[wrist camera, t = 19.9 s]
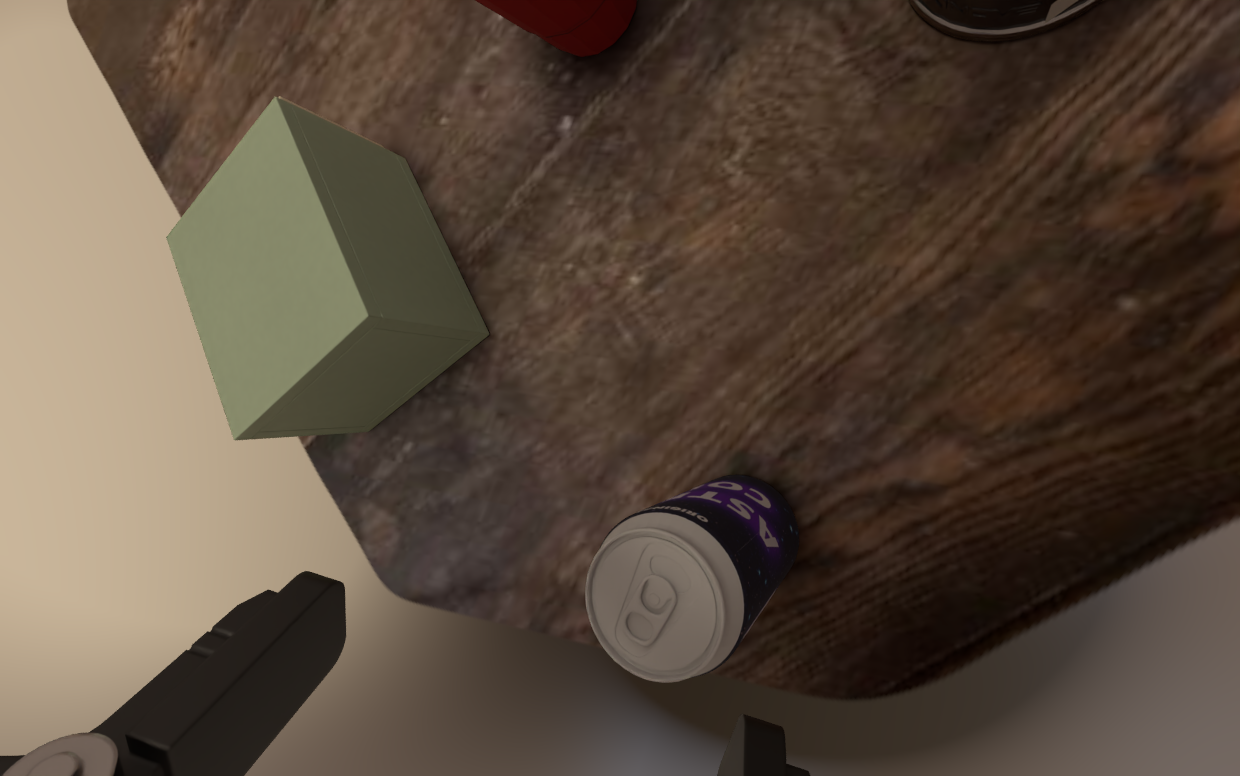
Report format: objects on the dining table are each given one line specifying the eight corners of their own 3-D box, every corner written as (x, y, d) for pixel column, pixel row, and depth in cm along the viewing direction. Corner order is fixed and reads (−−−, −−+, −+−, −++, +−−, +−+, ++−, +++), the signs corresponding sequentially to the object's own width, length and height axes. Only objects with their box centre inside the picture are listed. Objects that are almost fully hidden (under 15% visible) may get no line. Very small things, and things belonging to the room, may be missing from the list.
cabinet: (302, 266, 45) (165, 237, 37) (405, 157, 40) (274, 95, 32) (368, 432, 42) (233, 440, 33) (490, 334, 37) (368, 316, 28)
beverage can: (824, 514, 28) (772, 590, 17) (765, 608, 29) (681, 735, 18) (724, 451, 30) (620, 482, 19) (673, 541, 31) (549, 617, 20)
